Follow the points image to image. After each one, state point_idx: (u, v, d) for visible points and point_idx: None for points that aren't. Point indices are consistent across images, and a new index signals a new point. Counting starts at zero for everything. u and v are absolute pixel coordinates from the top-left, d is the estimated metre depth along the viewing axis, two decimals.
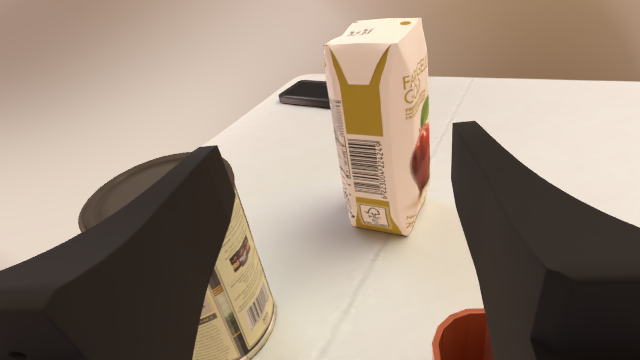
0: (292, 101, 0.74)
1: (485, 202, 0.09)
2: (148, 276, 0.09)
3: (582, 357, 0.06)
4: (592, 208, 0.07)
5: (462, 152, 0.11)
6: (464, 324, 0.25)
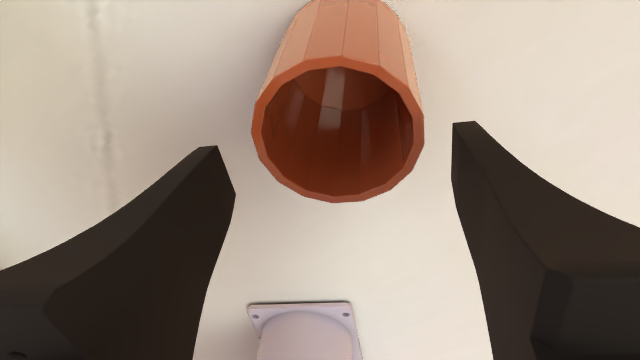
0: None
1: (485, 202, 0.09)
2: (148, 276, 0.09)
3: (582, 357, 0.06)
4: (592, 208, 0.07)
5: (462, 152, 0.11)
6: None
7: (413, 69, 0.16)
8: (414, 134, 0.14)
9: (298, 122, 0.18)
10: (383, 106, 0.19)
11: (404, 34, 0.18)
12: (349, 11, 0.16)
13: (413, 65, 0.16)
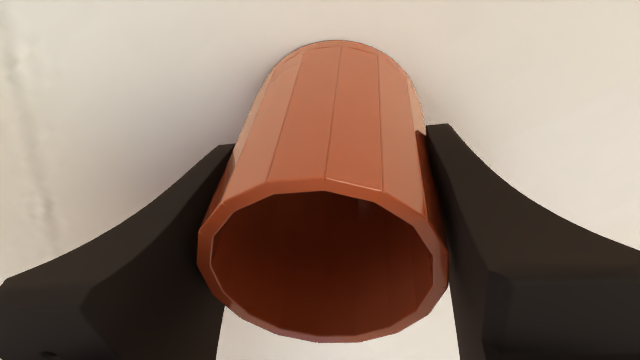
0: None
1: (450, 204, 0.09)
2: (175, 275, 0.09)
3: (529, 357, 0.06)
4: (547, 211, 0.08)
5: (432, 155, 0.11)
6: None
7: (430, 160, 0.11)
8: (434, 274, 0.09)
9: (274, 213, 0.14)
10: None
11: (415, 99, 0.13)
12: (340, 80, 0.11)
13: None
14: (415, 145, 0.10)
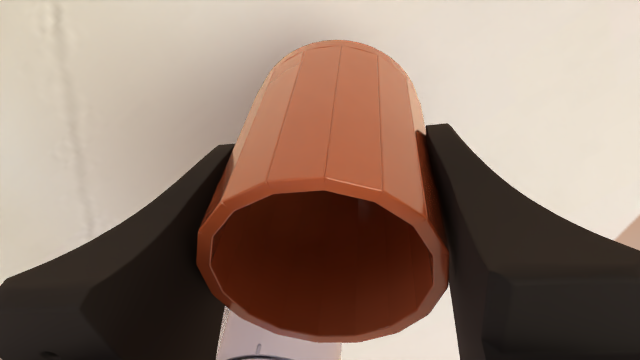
0: None
1: (450, 204, 0.09)
2: (175, 275, 0.09)
3: (529, 357, 0.06)
4: (547, 211, 0.08)
5: (432, 155, 0.11)
6: None
7: (430, 160, 0.11)
8: (434, 274, 0.09)
9: (274, 212, 0.14)
10: None
11: (415, 99, 0.13)
12: (340, 79, 0.11)
13: None
14: (415, 145, 0.10)
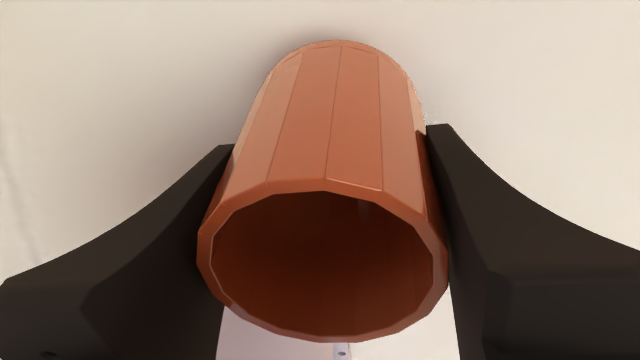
0: None
1: (450, 204, 0.09)
2: (175, 275, 0.09)
3: (529, 357, 0.06)
4: (547, 211, 0.08)
5: (432, 155, 0.11)
6: None
7: (430, 160, 0.11)
8: (434, 274, 0.09)
9: (274, 213, 0.14)
10: None
11: (415, 99, 0.13)
12: (340, 80, 0.11)
13: None
14: (415, 145, 0.10)
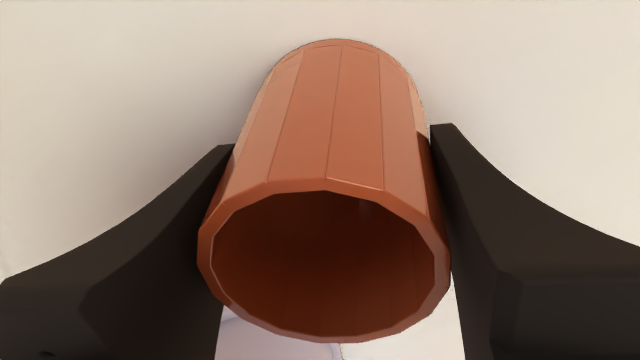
0: None
1: (456, 204, 0.09)
2: (174, 275, 0.09)
3: (538, 357, 0.06)
4: (554, 210, 0.08)
5: (437, 154, 0.11)
6: None
7: (431, 160, 0.11)
8: (436, 274, 0.09)
9: (275, 213, 0.14)
10: None
11: (416, 99, 0.13)
12: (341, 79, 0.11)
13: (430, 150, 0.12)
14: (416, 144, 0.10)
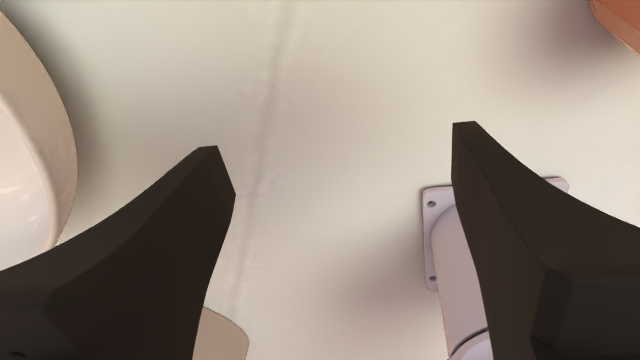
0: None
1: (485, 202, 0.09)
2: (148, 276, 0.09)
3: (582, 357, 0.06)
4: (592, 208, 0.07)
5: (462, 152, 0.11)
6: None
7: None
8: None
9: None
10: None
11: None
12: None
13: None
14: None
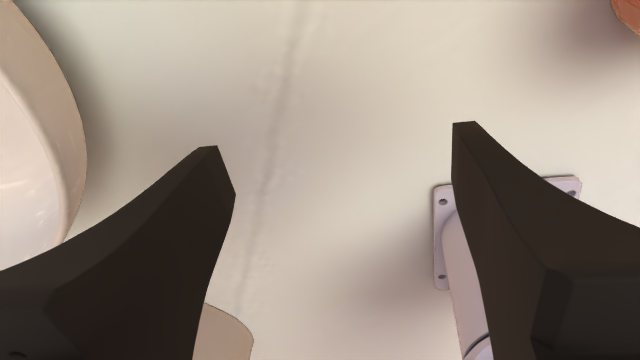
0: None
1: (485, 202, 0.09)
2: (148, 276, 0.09)
3: (582, 357, 0.06)
4: (592, 208, 0.07)
5: (462, 152, 0.11)
6: None
7: None
8: None
9: None
10: None
11: None
12: None
13: None
14: None
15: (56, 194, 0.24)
